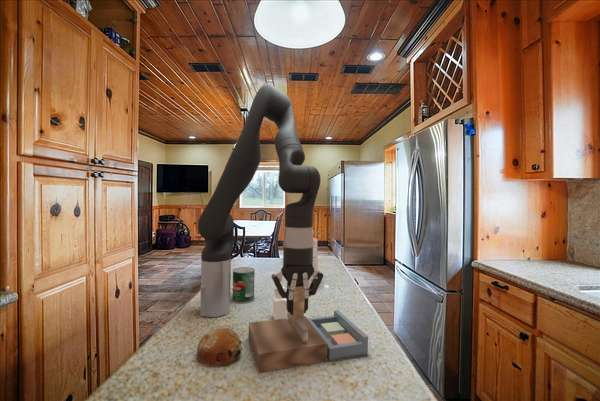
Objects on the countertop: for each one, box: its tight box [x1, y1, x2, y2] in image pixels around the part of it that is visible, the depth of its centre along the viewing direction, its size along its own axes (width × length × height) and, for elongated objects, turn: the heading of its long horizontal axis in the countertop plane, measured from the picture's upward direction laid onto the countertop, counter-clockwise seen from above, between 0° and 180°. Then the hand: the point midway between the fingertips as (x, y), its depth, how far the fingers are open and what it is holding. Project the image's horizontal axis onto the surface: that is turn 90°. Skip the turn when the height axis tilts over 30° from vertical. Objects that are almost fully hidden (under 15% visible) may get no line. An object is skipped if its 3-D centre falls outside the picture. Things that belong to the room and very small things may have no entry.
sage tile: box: [321, 322, 345, 338], centre depth 80 cm, size 5×5×2 cm
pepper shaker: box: [272, 285, 288, 320], centre depth 90 cm, size 4×4×10 cm
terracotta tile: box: [331, 333, 357, 345], centre depth 73 cm, size 5×5×2 cm
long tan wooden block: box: [287, 285, 308, 342], centre depth 73 cm, size 3×14×11 cm, turn 18°
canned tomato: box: [231, 266, 256, 304], centre depth 105 cm, size 8×8×11 cm
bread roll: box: [196, 326, 243, 367], centre depth 69 cm, size 10×10×8 cm
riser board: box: [248, 315, 328, 373], centre depth 72 cm, size 16×16×4 cm
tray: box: [307, 309, 369, 362], centre depth 76 cm, size 10×17×4 cm, turn 18°
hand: (297, 312), depth 73 cm, fingers closed on long tan wooden block, 2 cm apart
